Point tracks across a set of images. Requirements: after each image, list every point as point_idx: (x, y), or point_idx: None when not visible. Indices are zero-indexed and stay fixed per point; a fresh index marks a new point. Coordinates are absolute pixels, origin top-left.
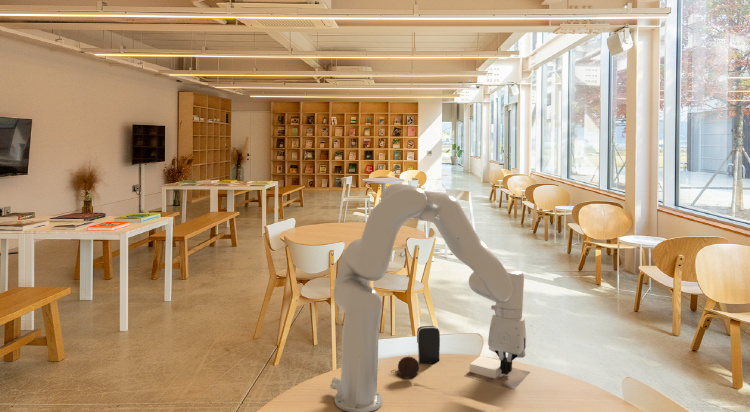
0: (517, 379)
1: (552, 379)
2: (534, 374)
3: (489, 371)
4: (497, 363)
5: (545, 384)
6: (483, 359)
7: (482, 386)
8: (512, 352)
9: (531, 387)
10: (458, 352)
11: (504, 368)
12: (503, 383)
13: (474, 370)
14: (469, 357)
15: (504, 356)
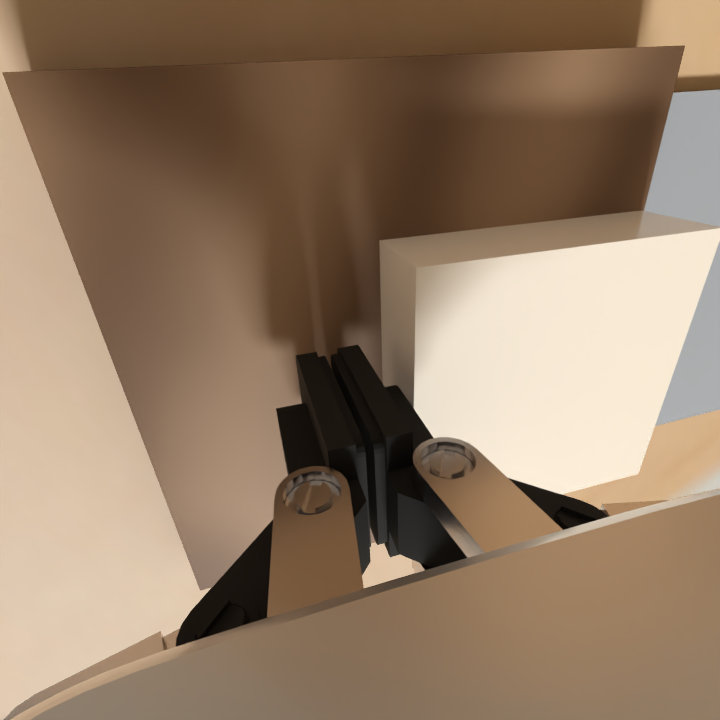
0: (186, 394)
1: (48, 636)
2: None
3: (477, 249)
4: None
5: (10, 543)
6: (604, 430)
7: None
8: (180, 680)
9: (47, 409)
10: (706, 491)
11: (346, 395)
12: (238, 174)
13: (618, 220)
14: (644, 486)
15: (423, 533)
